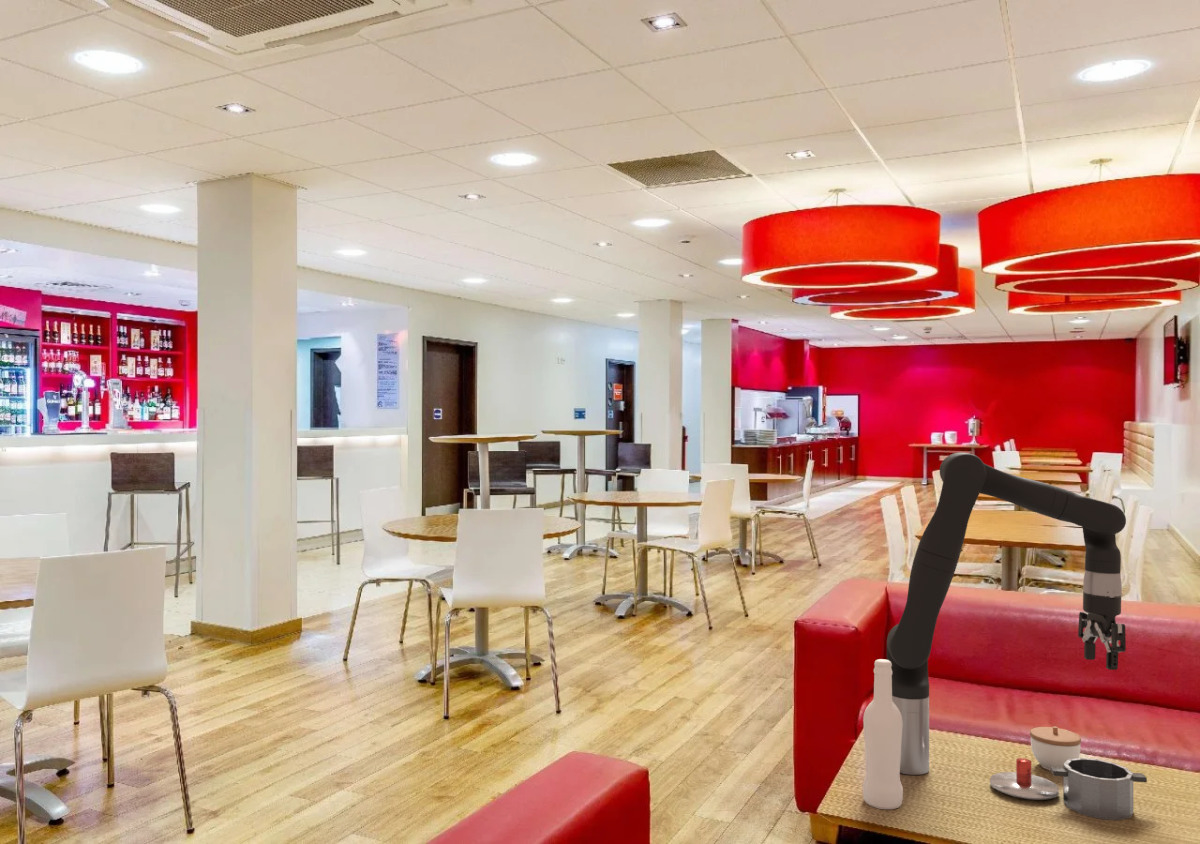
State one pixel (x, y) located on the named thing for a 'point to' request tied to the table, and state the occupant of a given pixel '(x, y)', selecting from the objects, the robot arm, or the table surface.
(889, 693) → the bottle
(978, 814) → the table surface
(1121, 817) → the pot
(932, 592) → the robot arm
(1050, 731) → the lidded jar
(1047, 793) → the lid
